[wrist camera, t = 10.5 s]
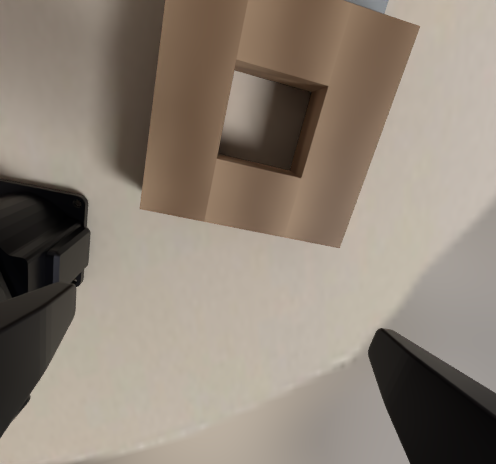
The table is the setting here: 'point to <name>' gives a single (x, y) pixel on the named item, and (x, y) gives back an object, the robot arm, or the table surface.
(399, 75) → the socket block
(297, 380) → the table surface
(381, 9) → the mat
